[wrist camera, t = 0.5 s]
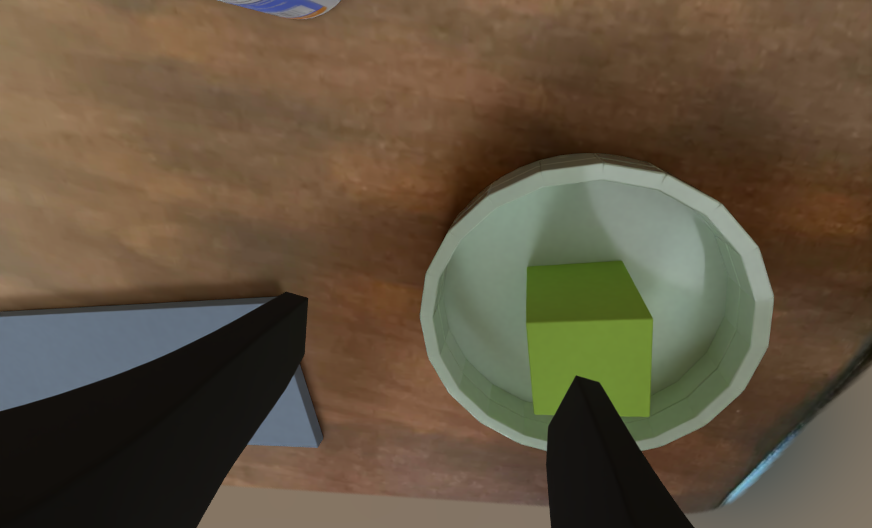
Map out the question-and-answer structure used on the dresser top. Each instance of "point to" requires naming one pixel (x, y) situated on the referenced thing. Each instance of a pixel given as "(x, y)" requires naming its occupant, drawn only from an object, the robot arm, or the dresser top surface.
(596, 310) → the cube
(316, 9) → the pill bottle
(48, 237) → the dresser top surface
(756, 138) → the dresser top surface
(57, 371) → the mat
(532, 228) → the basin
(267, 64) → the dresser top surface
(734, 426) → the dresser top surface
